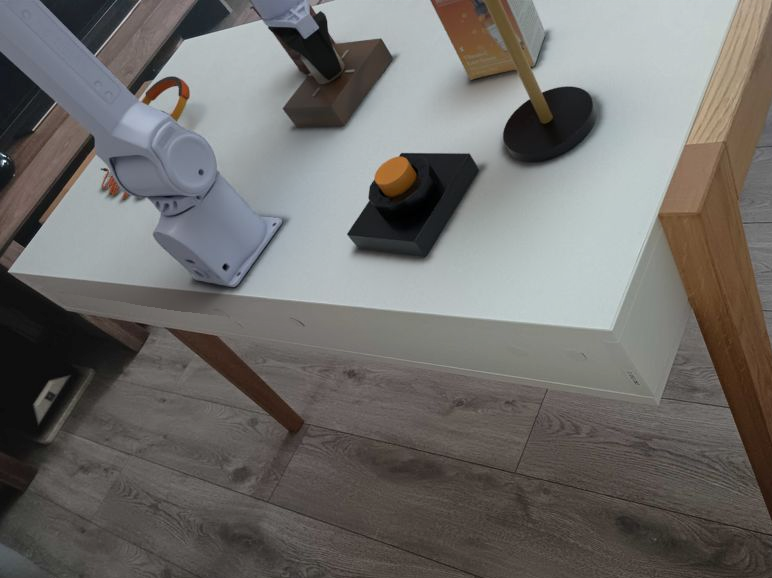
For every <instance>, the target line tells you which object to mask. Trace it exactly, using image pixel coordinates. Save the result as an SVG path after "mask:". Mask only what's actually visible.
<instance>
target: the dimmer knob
mask: <svg viewBox="0 0 772 578" xmlns="http://www.w3.org/2000/svg"><path fill="white" fill-rule="evenodd" d="M333 49H334V47H333ZM334 51H335V53H336V56H337V58H338V60H339V63H340V66H341V69H342V71H343V70H344V67H345V64H344V62H343V61H342V59H341V58H340V56H339V55H338V53H337V52H336V50H335V49H334ZM300 57H301V60H302V61H303V62H304V64H305V65H306V67H307V68H308V69H309V71H310V72H311V74H312V75H313V76H314V78H315V79H316V81H317V82H318V83H319V84H326V83H329V82H331V81H332V80H334V79H335V78H337V77H338V76H339V75H340V74H341V73H342V71H341V72H340V73H338V74H337V75H336V76H335V77H333V78H332V79H331V80H327V79H326V78H325V77H324V76H323V75H322V74H320V73H319V72H318V71H317V70H316V68H315V67H314V66H313V65H312V64H311V63H310V62H309V61H308V60H307V59H306V58H305V57H304V56H302V55H301V56H300Z"/></svg>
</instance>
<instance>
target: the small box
mask: <svg viewBox="0 0 772 578" xmlns="http://www.w3.org/2000/svg"><path fill="white" fill-rule="evenodd" d="M429 1H430V3H431V5H432V7H433V8H434V11H435V13H436V15H437V17H438V19H439V21H440V23H441V25H442V27H443V29H444V31H445V32H446V35H447V37H448V39H449V41H450V43H451V45H452V47H453V49H454V50H455V52H456V55H457V57H458V58H459V61H460V62H461V65H462V66H463V69H464V70H465V72H466V74H467V76H468V79H469V80H476V79H479V78H484V77H488V76H491V75H492V76H493V75H496V74H502V73H506V72H510V71H517V70H516V68H515V66H514V64H513V62H512V60H511V57H510V55H509V53H508V51H507V49H506V47H505V45H504V43H503V40H502V38H501V36H500V34H499V32H498V30H497V28H496V26H495V23H494V21H493V19H492V17H491V15H490V13H489V11H488V8H487V6H486V4H485V2H484V0H429ZM500 1H501V3H502V6H503V8H504V10H505V12H506V14H507V17H508V19H509V21H510V23H511V25H512V28H513V30H514V32H515V34H516V37H517V39H518V41H519V43H520V45H521V48H522V50H523V52H524V54H525V56H526V59H527V61H528V63H529V65H530V67H531V68H532V67H535V65H536V63H537V60H538V58H539V57H538V56H539V53H540V50H541V49H542V45H543V42H544V39H545V36H546V30H545V28H544V25H543V23H542V21H541V18H540V15H539V13H538V10H537V8H536V5H535V3H534V0H500Z"/></svg>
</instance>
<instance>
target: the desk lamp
mask: <svg viewBox="0 0 772 578" xmlns="http://www.w3.org/2000/svg"><path fill="white" fill-rule="evenodd" d="M484 2H485V4H486V6H487V8H488V11H489V13H490V15H491V17H492V19H493V21H494V23H495V26H496V28H497V30H498V32H499V34H500V36H501V38H502V40H503V43H504V45H505V47H506V49H507V51H508V53H509V55H510V57H511V60H512V62H513V64H514V66H515V68H516V70H515V71H516V72H517V74H518V76H519V79H520V81H521V84H522V85H523V87H524V89H525V91H526V94H527V95H528V98H529V99H527V100H526V101H525V102H524V103H522V104H520V106H519V107H517V109H516V110H515V111H513V112H512V114H511V115H510V117H509V118H508V120H507V121H506V123H505V126H504V127H503V132H502V139H503V143H504V145H505V147H506V149H507V150H508V153H509V154H510V155H511V157H513V158H514V159H516V160H517V161H519V162H523V163H531V164H534V163H543V162H547V161H550V160H553V159H556V158H559V157H560V156H563V155H564V154H567V153H568V152H570V151H572V150H573V149H575V148H576V147H577V146H579V144H581V143H582V142H583V141H584V140H585V139H586V137H588V135H589V134H590V133H591V131H592V129H593V128H594V126H595V125H596V120H597V116H598V115H597V114H598V113H597V107H596V105H595V102H594V100H593V97H592V96H591V95H590V93H589V92H588V91H586V90H585V89H583V88H581V87H577V86H571V85H569V86H568V85H567V86H559V87H558V86H557V87H554V88H551V89H550V88H549V89H547V90H544V91H542V89H541V88H540V87H541V86H540V85H539V83H538V81H537V79H536V77H535V74H534V72H533V69H532V67H530V65H529V63H528V61H527V59H526V56H525V54H524V52H523V50H522V48H521V45H520V43H519V41H518V39H517V37H516V34H515V32H514V30H513V28H512V25H511V23H510V21H509V19H508V17H507V14H506V12H505V10H504V8H503V6H502V3H501V1H500V0H484Z"/></svg>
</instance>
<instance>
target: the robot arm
mask: <svg viewBox="0 0 772 578" xmlns="http://www.w3.org/2000/svg"><path fill="white" fill-rule="evenodd" d="M250 1H251V2H252V4H253V5H254V6H255V8H256V9H257V10H256V9H255V8H254V9H255V10H256V12H257V11H258V12H259V13H260V15H261V16H260V15H259V16H260V18H261V20H262V22H263V24H264V25H265V26H267V29H268V30H269V31H270V32H271V33H272V32H273V33H275V34H276V35H278V36H280V37H282V38H281V41H282V42H283V43H284V44H285V45H286V46H288V47H289V48H291V49H293V50H295V51H297V52H298V53H300V54H301V55H302V56H304V57H305V58H306V59H307V60H308V61H309V62H310V63H311V64H312V65H313V66H314V67H315V68H316V70H317V71H318V72H319V73H320V74H322V75H323V76H324V77H325V78H326V79H327V80H331V79H332V78H333V77H335V76H336V75H337V74H338V73H340V72H341V71H342V69H341V66H340V63H339V60H338V58H337V56H336V53H335V51H334V49H333V46H332V43H331V40H330V37H329V34H330V32H329V25H328V19H327V18H328V17H327V15H326V14H325V12H323V11H322V10H320V11H318V12H317V13H316V15H315V16H313V17H312V15H311V11H310V5H311V3H310V0H250ZM250 1H249V2H250ZM251 2H250V3H251ZM252 4H251V5H252ZM253 5H252V6H253ZM254 6H253V7H254ZM258 12H257V13H258ZM259 13H258V14H259ZM273 33H272V34H273ZM0 53H1V54H2V55H4V57H6V58H7V59H8V60H9V61H10V62H11V63H13V65H14V66H15V67H17V68H18V69H19V70H20V71H21V72H22V73H24V75H26V76H27V77H28V78H29V79H30V80H31V81H32V82H34V84H36V86H38V88H40V89H41V90H42V91H43V92H44V93H45V94H46V95H48V96H49V98H51V99H52V100H53V101H54V102H55V103H57V105H59V106H60V107H61V108H62V109H63V110H64V111H65V112H66V113H67V114H68V115H70V116H71V117H72V118H73V119H74V120H75V121H76V122H77V123H79V125H81V126H82V127H83V128H84V129H85V130H86V131H87V132H89V134H91V135H92V136H93V138H94V154H95V155H96V156H97V157H98V158H99V159H100V160H102V162H103V163H104V164H105V165H106V166H107V169H108V170H109V172H110V173H111V176H113V177H112V178H114V182H116V183H117V185H118V186H119V187H120V188H119V189H121V190H122V191H123V192H124V193H125V192H126V193H128V195H130V196H132V197H134V198H137V197H138V198H139V199H146V198H147V200H149V202H150V203H152V204H153V206H154V208H155V209H156V210H157V211H158V212H159V213H160V216H159V220H158V223H157V225H156V227H155V229H154V230H153V232H152V236H153V238H154V240H155V241H156V243H157V244H158V245H159V246H160V247H161V248H162V249H163V250H165V252H166V253H167V254H169V255H170V256H171V257H172V258H173V259H174V260H176V261H177V262H178V263H179V264H180V265H181V266H182V267H183V268H184V269H185V270H186V271H188V272H189V274H191V275H192V279H194V280H195V281H199V282H204V283H209V284H215V285H219V286H225V287H231V288H235V287H238V285H239V284H240V283H241V282H242V280H243V278H244V277H245V276H246V274H247V273H248V271H249V270H250V269H251V267H252V266H253V264H255V262H256V260H257V259H258V258H259V256H260V255H261V253H262V252H263V250H264V249H265V247H266V246H267V245H268V243H269V242H270V241H271V239H272V238H273V237H274V235H275V234H276V232H277V231H278V230H279V228H280V227H281V225H282V224H283V220H282V218H280V217H272V216H263V215H262V216H261V215H259V214H258V213H257V212H256V210H254V209H253V208H252V206H250V205H249V204H248V202H247V201H246V200H245V199H244V198H243V197H242V196H241V195H240V193H239V192H238V191H237V190H236V189H235V188H234V187H233V186H232V185H231V184H230V183H229V181H228V180H226V179H225V177H224V176H223V175H222V174H221V172H220V171H219V170H218V165H217V163H218V162H217V158H216V154H215V151H214V149H213V148H212V146H211V145H210V143H209V141H208V140H207V139H206V138H205V137H204V136H203V135H201V134H199V133H197V132H196V131H193V130H191V129H188V128H186V127H184V126H182V125H181V124H180V123H178V121H177V122H176V121H175V120H174V119H173V118H172V117H171V114H169V113H168V114H169V115H168V114H166V113H167V112H166V113H164V112H165V111H164V112H162V111H163V110H161V111H160V109H157V108H155V107H153V106H151V105H150V104H149V105H146V104H144V103H142V102H141V101H140V100H139V99H138V98H137V97H136V96H135V95H134V94H133V93H132V92H131V91H130V90H129V89H128V88H127V87H126V86H125V85H124V84H123V83H122V81H120V80H119V79H118V78H117V77H116V76H115V74H113V73H112V72H111V71H110V70H109V69H108V68H107V67H106V66H105V65H104V63H102V62H101V60H99V59H98V57H97V56H95V55H94V54H93V53H92V52H91V51H90V50H89V48H87V47H86V46H85V45H84V44H83V42H81V41H80V40H79V39H78V38H77V37H76V35H74V34H73V32H72V31H70V30H69V29H68V27H67V26H66V25H64V24H63V22H62V21H60V20H59V18H58V17H57V16H56V15H55V14H54V13H53V12H52V11H50V9H49V8H47V6H46V5H45V4H44V3H43V2H42V1H41V0H0ZM118 186H117V187H118ZM138 198H137V199H138Z"/></svg>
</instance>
